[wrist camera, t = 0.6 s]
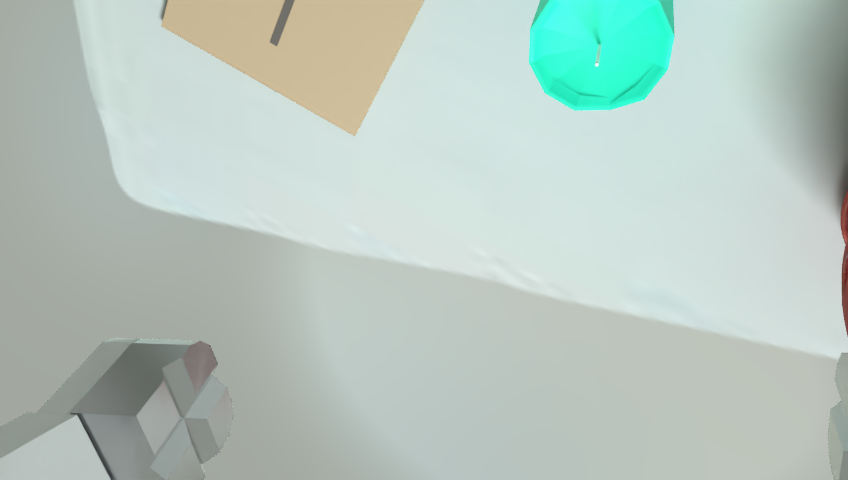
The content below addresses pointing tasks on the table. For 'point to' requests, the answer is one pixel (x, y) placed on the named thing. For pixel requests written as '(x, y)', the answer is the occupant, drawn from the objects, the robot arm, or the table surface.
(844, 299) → the plant pot
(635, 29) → the candle
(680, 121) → the table surface
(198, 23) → the tan flat wooden board
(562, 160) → the table surface
